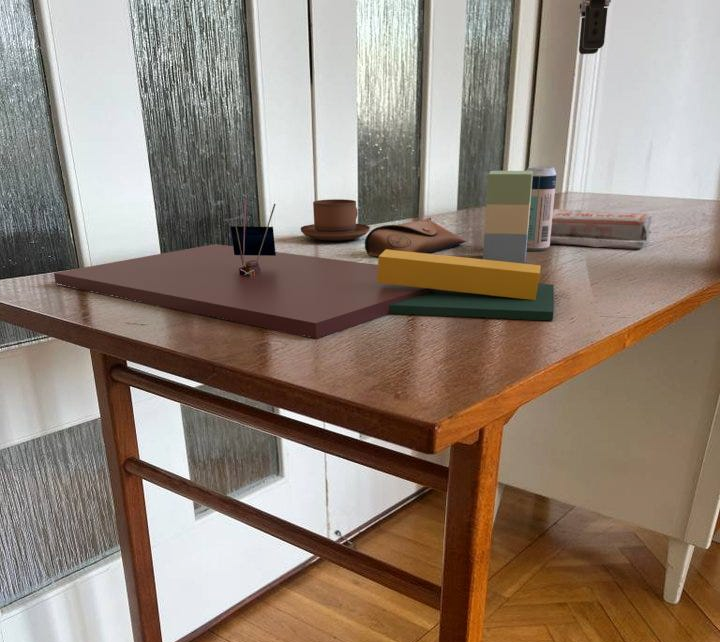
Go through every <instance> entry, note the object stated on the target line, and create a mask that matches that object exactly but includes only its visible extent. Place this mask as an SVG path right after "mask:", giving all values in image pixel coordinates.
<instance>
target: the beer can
mask: <svg viewBox="0 0 720 642" xmlns="http://www.w3.org/2000/svg"><path fill="white" fill-rule="evenodd" d="M525 171H533V179H532V191H531V202H530V214H529V226H528V238H527V250H526V251H529V252H530V251H531V252H538V251H545V250H546V249H547V248H550V247H551V246H550V245H551V243H550V237H551V226H552V216H553V209H554V204H555V194H556V184H557V172H556V169H555V167H553V166H528V167H527V169H526V170H525Z"/></svg>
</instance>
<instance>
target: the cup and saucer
mask: <svg viewBox="0 0 720 642" xmlns="http://www.w3.org/2000/svg"><path fill="white" fill-rule="evenodd" d="M312 206H313V209H312V210H313V224H308V225H303V226H301V227H300V232H301V233H302V234H303V235H304V236H306V237H308V238H310V239H314V240H317V241H318V240H319V241H325V242H327V241H328V242H342V241H343V242H344V241H349V240H354V239H358V238H361V237H364V236H365V235H367V234H368V233H369V232H370V229H371V226H369V225H366V224H362V223H357V218H358V208H357V201H356V200H354V199H343V198H342V199H340V198H336V199H334V198H332V199H319V200H314V201H313V202H312Z"/></svg>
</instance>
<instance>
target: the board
mask: <svg viewBox="0 0 720 642" xmlns="http://www.w3.org/2000/svg"><path fill="white" fill-rule="evenodd" d="M243 200H244V202H243V203H244V204H243V226H240V225H239V226H238V225H237V220H236V215H235V211H234V210H235V209H234V204H233V199H230V200H229V202H230V207H231V212H232V217H233V223H234V226H233V225H232V226H231V225H230V234H231V241H232V242H231V243H232V245H227V244H226V245H225V244H219V243H218V244H217V243H214V244H208V245H201V246H197V247H191V248H185V249H180V250H175V251H174V250H173V251H169V252H162V253H158V254H157V253H156V254H151V255H145V256H140V257H134V258H130V259H123V260H118V261H112V262H107V263H101V264H96V265H91V266H90V265H89V266H84V267H78V268H74V269H68V270H61V271H57V272H53V277H54V283H55V284H56V283H58V284H62V285H66V286H70V287H75V288H79V289H83V290H87V291H86V292H88V291H93V292H98V293H102V294H107V295H113V296H118V297H122V298H127V299H131V300H136V301H141V302H145V303H144V304H146V303H149V304H148V305H151V304H154V305H153V306H156V305H159V306H158V307H160V306H163V307H162V308H165V307H168V308H167V309H170V308H173V309H172V310H175V309H177V310H176V311H180V310H182V311H181V312H185V311H186V312H185V313H191V314H194V313H195V315H199V314H202V315H201V316H204V315H207V316H206V317H209V316H213V317H212V318H214V317H219V318H224V319H227V320H226V321H228V320H230V321H229V322H233V321H235V322H234V323H238V322H240V323H239V324H243V323H245V324H244V325H248V324H250V325H249V326H252V325H254V327H257V326H259V327H258V328H262V327H264V328H263V329H267V330H271V331H276V332H281V331H282V333H287V334H291V333H292V335H296V334H299V335H298V336H301V335H305V336H304V337H306V336H310V337H314V338H313V339H315V338H317V339H320V338H322V336H323V337H326V336H329V335H332V334H334V332H335V333H338V332H340V331H343V330H346V329H349V328H351V327H355V326H358V325H361V324H365V323H366V322H370V321H372V320H376V319H378V318H382V317H384V316H387V315H391V314H390V305H391V304H394V303H397V302H400V301H403V300H406V299H409V298H412V297H415V296H418V295H421V294H424V293H427V292H430V291H434V290H437V289H430V288H421V287H412V286H403V285H394V284H385V283H377V275H378V264H373V263H366V262H358V261H350V260H343V259H336V258H327V257H319V256H312V255H311V256H310V255H304V254H296V253H288V252H281V251H276V243H275V234H274V233H275V232H274V226H270V223H271V221H272V218H273V214H274V211H275V207H276V203H273V205H272V208H271V209H272V210H271V212H270V216H269V219H268V222H267V226H246V216H247V215H246V213H247V211H246V209H247V198H244V199H243ZM83 290H82V291H83ZM93 292H92V293H93ZM98 293H97V294H98ZM102 294H101V295H102ZM107 295H106V296H107ZM122 298H121V299H122ZM127 299H126V300H127ZM131 300H130V301H131ZM136 301H135V302H136ZM141 302H140V303H141ZM219 318H218V319H219ZM331 333H332V334H331ZM328 334H329V335H328ZM325 335H326V336H325ZM310 337H309V338H310ZM319 337H320V338H319Z"/></svg>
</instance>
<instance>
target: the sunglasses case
mask: <svg viewBox="0 0 720 642" xmlns="http://www.w3.org/2000/svg"><path fill="white" fill-rule="evenodd" d="M464 243H467V240H465V239H464V238H462V237H461V236H459V235H457V234H455V233H453V231H452V232H451V230H448V229H446V228H445V227H442V225H439V224H437V223H436V222H434V221H433V220H432V218H431V217H427V218H424V219H421V220H413V221H410V222H402V223H398V224H386V225H381V226H378V227H377V226H376V227H375V228H373V229H372V230H371V231H369V232H368V233H367V234H366V237H365V240H364V250H365V252H366V254H367V255H368V256H371V257H376V258H379V256H380V255H381V254H382V253H383V252H384V251H385V250H386V249H387V250H397V251H407V252H416V253H426V254H431V253H434V252H440V251H444V250H449V249H451V248H455V247H457V246H459V245H462V244H464Z"/></svg>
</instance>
